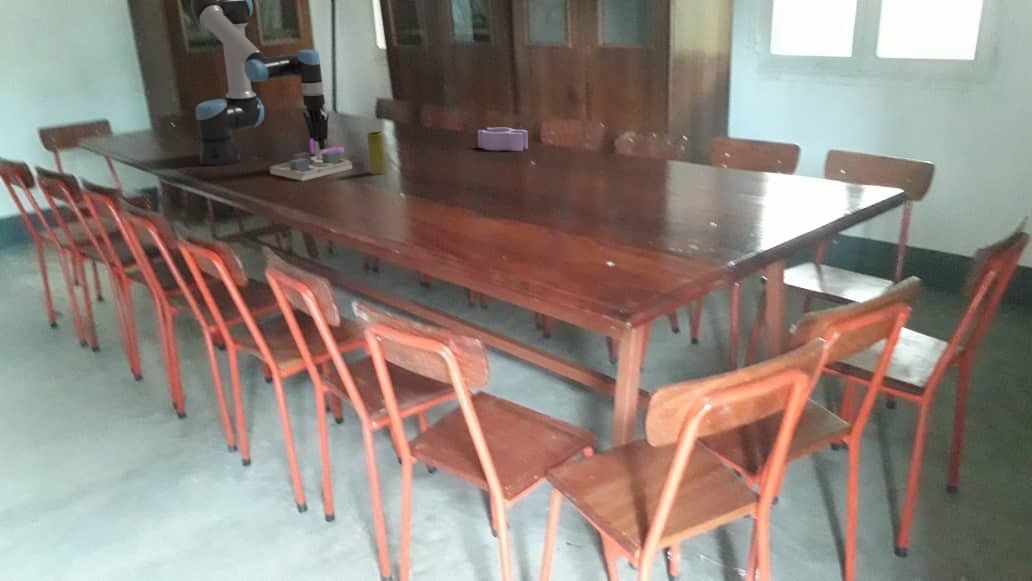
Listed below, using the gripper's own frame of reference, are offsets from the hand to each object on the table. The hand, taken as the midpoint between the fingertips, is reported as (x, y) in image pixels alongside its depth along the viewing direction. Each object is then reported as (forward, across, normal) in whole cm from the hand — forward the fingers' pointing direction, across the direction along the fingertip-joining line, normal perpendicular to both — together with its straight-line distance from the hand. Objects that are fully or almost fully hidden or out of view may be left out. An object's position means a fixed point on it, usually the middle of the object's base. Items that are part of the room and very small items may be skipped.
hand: (321, 157), depth 301 cm
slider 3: (+1, +6, 0) cm, 6 cm away
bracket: (+4, -18, +16) cm, 25 cm away
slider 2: (+1, +6, -14) cm, 15 cm away
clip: (+3, +37, +61) cm, 72 cm away
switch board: (+3, +3, -7) cm, 8 cm away
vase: (+3, +27, +5) cm, 28 cm away
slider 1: (+1, -2, -7) cm, 7 cm away
